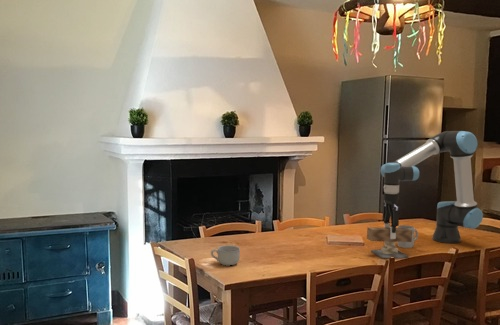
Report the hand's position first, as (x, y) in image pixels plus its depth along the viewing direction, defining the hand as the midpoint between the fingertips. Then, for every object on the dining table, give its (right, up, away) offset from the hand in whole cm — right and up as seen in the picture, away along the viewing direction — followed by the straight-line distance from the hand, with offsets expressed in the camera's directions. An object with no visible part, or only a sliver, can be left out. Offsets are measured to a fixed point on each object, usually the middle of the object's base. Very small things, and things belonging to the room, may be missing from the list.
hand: (389, 237), depth 246 cm
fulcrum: (0, -9, +1) cm, 9 cm away
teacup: (-84, -10, -18) cm, 87 cm away
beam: (0, -2, 0) cm, 2 cm away
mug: (+16, -8, +20) cm, 27 cm away
